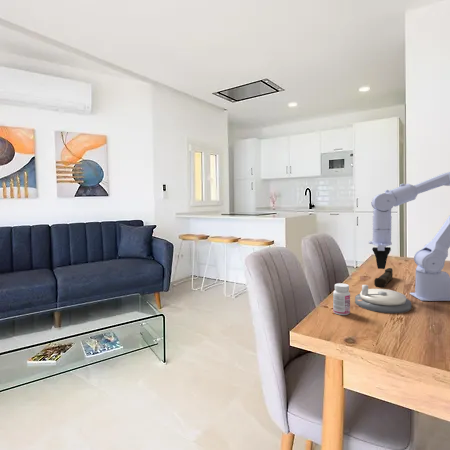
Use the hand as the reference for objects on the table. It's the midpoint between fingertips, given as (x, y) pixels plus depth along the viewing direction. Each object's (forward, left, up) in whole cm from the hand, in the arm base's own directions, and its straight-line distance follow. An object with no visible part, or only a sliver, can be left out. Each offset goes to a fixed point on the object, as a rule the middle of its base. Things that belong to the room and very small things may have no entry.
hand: (381, 268), depth 111 cm
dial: (+3, +9, -8) cm, 13 cm away
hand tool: (-9, -17, -10) cm, 22 cm away
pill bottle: (+18, +17, -10) cm, 27 cm away
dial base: (+4, +10, -9) cm, 14 cm away
